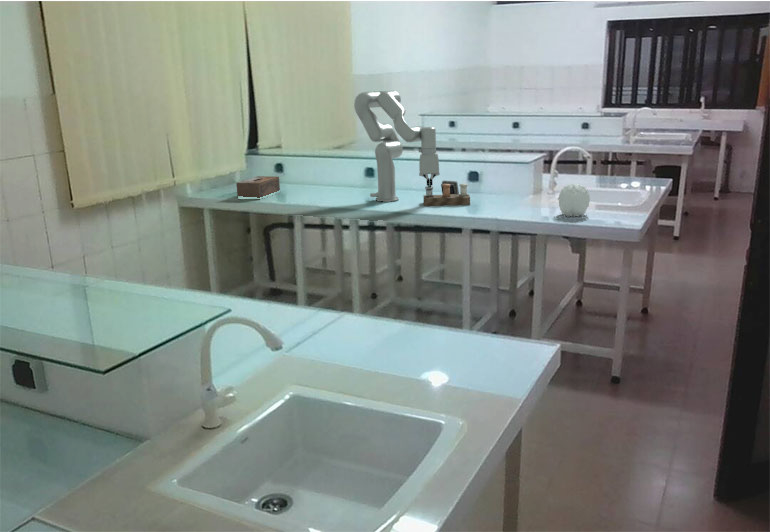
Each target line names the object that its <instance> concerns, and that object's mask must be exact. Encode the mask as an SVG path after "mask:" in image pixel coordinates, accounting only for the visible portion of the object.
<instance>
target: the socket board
mask: <svg viewBox="0 0 770 532" xmlns="http://www.w3.org/2000/svg"><path fill="white" fill-rule="evenodd" d="M443 205H447V206H471V197H470V194H469V193H467V196H465V197H460V193H459V194H451V195H450V197H443V194H433V197H426V194H424V195H423V206H424V207H436V206H437V207H439V206H443Z"/></svg>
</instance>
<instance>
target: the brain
mask: <svg viewBox="0 0 770 532" xmlns="http://www.w3.org/2000/svg"><path fill="white" fill-rule="evenodd" d="M557 200H558V206H559V210H560V211H561V214H563V215H564V216H565V215H566V217H571V216H573V217H578V216H579V217H581V216H582V215H585V214H586V211H587V209H588V208H589V207H590V202H591V197H590V192H589V190H588V189H587V187H586V186H585V185H583V184H580V183H569V184H566V185H565V186H564V185H563V187H562V189H561V190H560V192H559V195H558V199H557Z"/></svg>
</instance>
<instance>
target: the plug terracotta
mask: <svg viewBox="0 0 770 532" xmlns="http://www.w3.org/2000/svg"><path fill="white" fill-rule="evenodd" d="M441 184H442V183H441ZM442 187H443V194H442V195H443V197H450V184H442Z"/></svg>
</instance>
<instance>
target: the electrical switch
mask: <svg viewBox="0 0 770 532" xmlns="http://www.w3.org/2000/svg"><path fill="white" fill-rule="evenodd" d="M442 184H450V195H451V194H460V191H459V184H458V181H456V180H442V181H441V183H440V187H441V193H442V194H441V195H443V187H442Z"/></svg>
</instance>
